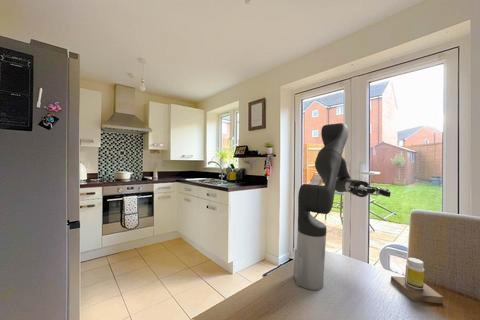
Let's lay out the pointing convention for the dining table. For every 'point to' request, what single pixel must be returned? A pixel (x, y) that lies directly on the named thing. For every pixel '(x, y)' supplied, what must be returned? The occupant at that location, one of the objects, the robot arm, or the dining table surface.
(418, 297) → the block
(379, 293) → the dining table surface
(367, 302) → the dining table surface
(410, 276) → the supplement bottle
